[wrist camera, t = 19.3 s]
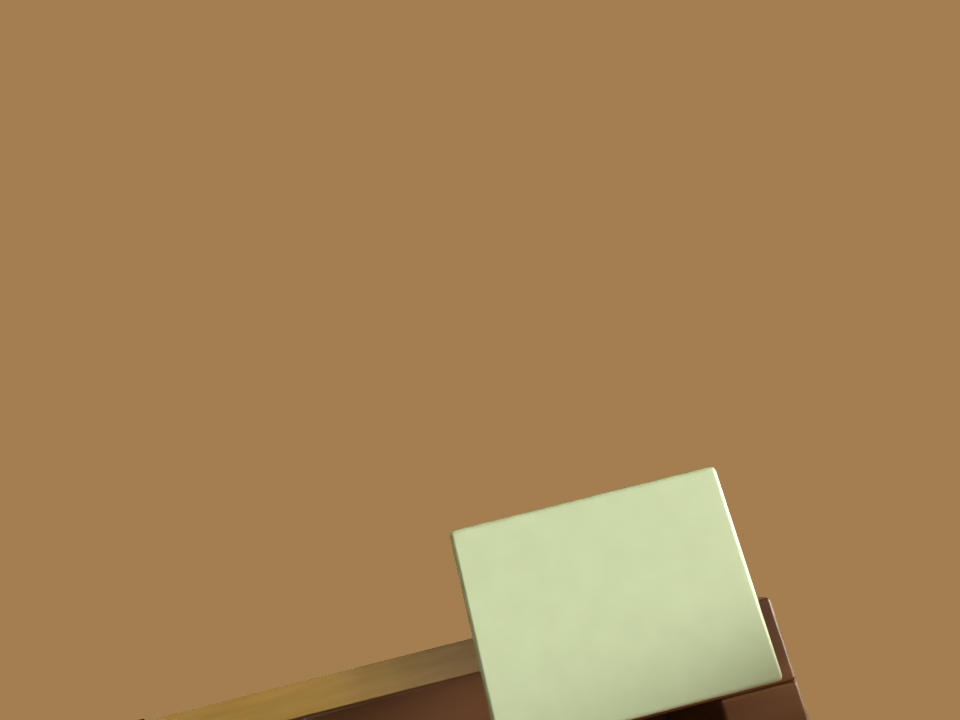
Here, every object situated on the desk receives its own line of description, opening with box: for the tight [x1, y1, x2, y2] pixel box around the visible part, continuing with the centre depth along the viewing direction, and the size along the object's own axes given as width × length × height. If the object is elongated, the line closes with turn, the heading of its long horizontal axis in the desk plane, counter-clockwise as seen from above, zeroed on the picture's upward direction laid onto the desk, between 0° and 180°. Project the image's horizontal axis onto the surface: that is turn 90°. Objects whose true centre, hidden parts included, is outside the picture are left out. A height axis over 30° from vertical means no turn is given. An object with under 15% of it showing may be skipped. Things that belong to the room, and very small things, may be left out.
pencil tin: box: [450, 467, 782, 720], centre depth 21 cm, size 22×4×3 cm, turn 178°
